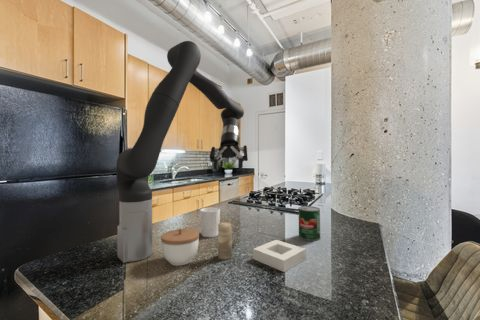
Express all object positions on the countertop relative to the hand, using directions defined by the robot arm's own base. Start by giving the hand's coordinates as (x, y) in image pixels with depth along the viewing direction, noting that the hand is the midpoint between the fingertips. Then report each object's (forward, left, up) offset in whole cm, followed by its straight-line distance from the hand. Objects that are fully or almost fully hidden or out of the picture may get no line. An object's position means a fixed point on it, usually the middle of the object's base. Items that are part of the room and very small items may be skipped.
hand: (227, 168), depth 81 cm
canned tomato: (+25, -18, -27) cm, 41 cm away
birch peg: (-9, -9, -26) cm, 29 cm away
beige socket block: (+1, -22, -26) cm, 34 cm away
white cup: (0, +11, -27) cm, 29 cm away
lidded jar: (-20, -2, -27) cm, 33 cm away
